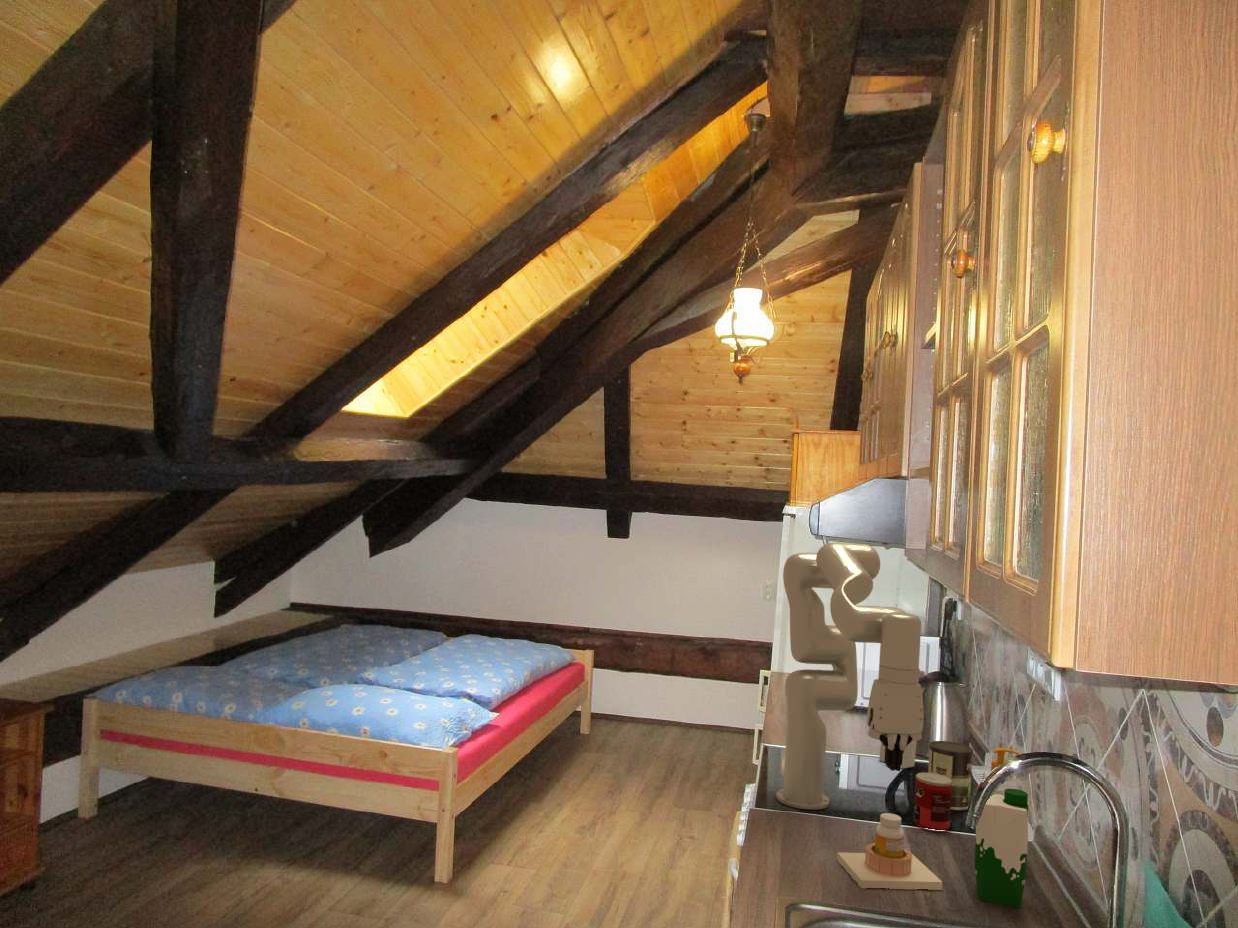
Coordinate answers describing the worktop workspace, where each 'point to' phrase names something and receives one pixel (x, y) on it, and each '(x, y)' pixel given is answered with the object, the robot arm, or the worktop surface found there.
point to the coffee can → (953, 769)
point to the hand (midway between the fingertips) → (892, 768)
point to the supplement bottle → (889, 836)
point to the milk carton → (1002, 848)
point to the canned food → (932, 801)
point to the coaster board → (870, 878)
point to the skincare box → (907, 754)
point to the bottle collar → (888, 862)
